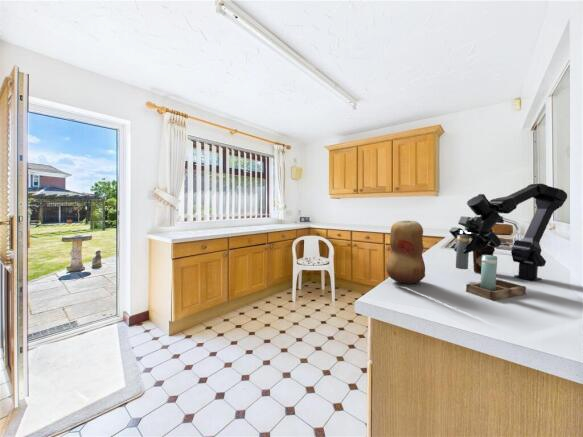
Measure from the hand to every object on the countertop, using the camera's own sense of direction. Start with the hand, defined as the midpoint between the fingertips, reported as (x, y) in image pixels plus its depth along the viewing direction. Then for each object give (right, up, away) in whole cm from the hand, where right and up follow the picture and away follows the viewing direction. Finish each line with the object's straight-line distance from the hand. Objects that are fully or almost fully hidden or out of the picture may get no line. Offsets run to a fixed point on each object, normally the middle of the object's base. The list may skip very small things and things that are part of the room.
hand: (459, 251), depth 97 cm
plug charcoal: (+1, -7, +1) cm, 7 cm away
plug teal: (0, -12, -14) cm, 19 cm away
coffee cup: (+20, -12, +14) cm, 28 cm away
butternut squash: (-22, -13, -1) cm, 25 cm away
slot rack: (+3, -13, -13) cm, 19 cm away
